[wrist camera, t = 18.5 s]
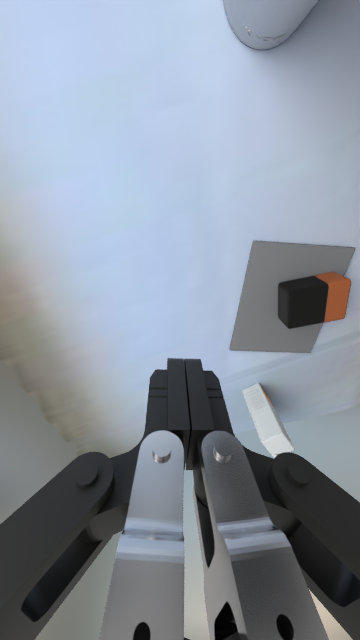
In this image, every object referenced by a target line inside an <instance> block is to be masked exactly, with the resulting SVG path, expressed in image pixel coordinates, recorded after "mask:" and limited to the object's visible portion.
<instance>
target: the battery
mask: <svg viewBox="0 0 360 640" xmlns="http://www.w3.org/2000/svg"><path fill="white" fill-rule="evenodd" d="M350 286H351V280H350V279H348V278H346V277H344V276H342V275H340V274H337V273H335V272H329V273H324V274H320V275H315V276H310V277H305V278H300V279H295V280H290V281H285V282H281V283H279V284H278V318H279V319H280V320H281V321H282V322H283V323H284V325H285V326H286V327H287V328H288V329H292V328H298V327H303V326H308V325H314V324H319V323H324V322H329V321H335V320H340V319H344V318H345V314H346V309H347V307H348V306H349V305H348V297H349V292H350Z"/></svg>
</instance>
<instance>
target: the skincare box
mask: <svg viewBox="0 0 360 640" xmlns="http://www.w3.org/2000/svg"><path fill="white" fill-rule="evenodd" d="M242 393H243V396H244V398H245V401H246V403H247V406H248V409H249V411H250V414H251V417H252V419H253V422H254V425H255V427H256V430H257V432H258V435H259V438H260V440H261V443H262V444H263V445H264V446H265V447H266V449H267V450H268V451H269V452H270V453H271V455H272V456H273V457H274V458H275V457H276V456H277V455H278V454H280V453H284V452H290V451H293V450H294V449H295V448H294V447H293V445H292V443H291V440H290V438H289V436H288V435H287V433H286V431H285V429H284V426H283V424H282V422H281V420H280V418H279V416H278V414H277V413H276V411H275V409H274V406H273V404H272V402H271V400H270V398H269V397H268V396H267V394H266V393H265V392H264V390H263V389H262V387H261V386H260V384H259V383H257V384H255V385H253V386H251V387H248V388H246V389H244V390H242Z"/></svg>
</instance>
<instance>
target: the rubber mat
mask: <svg viewBox="0 0 360 640" xmlns="http://www.w3.org/2000/svg"><path fill="white" fill-rule="evenodd" d="M354 251H355V248H353V247H338V246H324V245H309V244H294V243H279V242H264V241H253V243H252V248H251V252H250V257H249V262H248V266H247V271H246V275H245V280H244V285H243V289H242V294H241V298H240V303H239V308H238V312H237V317H236V322H235V326H234V331H233V335H232V340H231V345H230V350H234V351H266V352H299V353H310V352H311V350H312V348H313V345H314V343H315V341H316V338H317V336H318V334H319V331H320V329H321V327H322V324H323V323H319V324H314V325H308V326H303V327H298V328H292V329H288V328H287V327H286V326H285V325H284V323H283V322H282V321H281V320H280V319H279V318H278V284H279V283H281V282H285V281H290V280H295V279H300V278H305V277H310V276H315V275H320V274H324V273H329V272H335V273H337V274H340V275H342V276H344V274H345V271H346V269H347V267H348V264H349V262H350V260H351V257H352V255H353V253H354Z"/></svg>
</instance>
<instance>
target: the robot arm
mask: <svg viewBox="0 0 360 640" xmlns="http://www.w3.org/2000/svg"><path fill="white" fill-rule="evenodd" d="M318 1H319V0H223V2H224V8H225V12H226V16H227V19H228V22H229V24H230V26H231V28H232V30H233V31H234V33H235V35H236V36H237V37H238V38H239V39H240V40H241V42H243V43H244V44H246V45H247V46H249V47H251V48H255V49H258V50H260V49H270V48H273V47H276V46H277V45H279V44H281V43H282V42H284V41H285V40H286V39H287V38H288V37H289V36H290V35H291V34H292V33H293V32H294V31H295V30H296V29H297V27H298V26H299V25H300V23H301V22H302V21H303V19H304V18H305V17H306V16H307V14H308V13H309V12H310V10H311V9H312V8H313V7H314V6H315V4H316V3H317V2H318ZM185 463H186V470H193V475H194V487H193V498H194V505H195V513H196V519H197V526H198V533H199V540H200V546H201V554H202V561H203V568H204V593H205V604H206V611H207V618H208V626H209V633H210V640H329V639H328V636H327V634H326V631H325V629H324V626H323V624H322V621H321V619H320V616H319V614H318V611H317V609H316V606H315V604H314V602H313V599H312V596H311V594H310V591H311V592H312V593H313V594H314V595H315V596H316V597H317V598H318V600H319V601H320V602H321V603H322V604H323V605H324V607H325V608H326V609H327V610H328V611H329V612H330V613H331V615H332V616H333V617H334V618H335V619H336V620H337V622H338V623H339V624H340V625H341V626H342V627H343V628H344V630H345V631H346V632H347V633H348V634H349V635H350V637H351V638H352V639H353V640H360V503H359V502H358V501H357V500H356V499H354V498H353V497H352V496H351V495H349V494H348V493H347V492H346V491H344V490H343V489H342V488H341V487H339V486H338V485H337V484H336V483H334V482H333V481H332V480H331V479H329V478H328V477H327V476H326V475H324V474H323V473H322V472H320V471H319V470H318V469H317V468H316V467H314V466H313V465H312V464H311V463H309V462H308V461H307V460H305V459H304V458H303V457H301V456H299V455H297V454H294V453H289V452H284V453H280V454H278V455H277V456H276V457H275V459H273V458H270V457H266V456H264V455H261V454H258V453H255V452H252V451H250V450H249V449H247V448H245V447H244V446H243V445H242V444H241V443H240V441H239V440H238V439H237V438H236V437H235V435H234V433H233V430H232V427H231V423H230V419H229V416H228V412H227V408H226V405H225V401H224V399H223V394H222V391H221V386H220V382H219V379H218V378H217V377H216V375H215V374H214V373H213V372H212V371H203V368H202V363H201V360H200V359H175V358H168V361H167V370H155V371H154V373H153V374H152V376H151V377H150V384H149V394H148V404H147V415H146V425H145V432H144V436H143V438H142V440H141V441H140V443H139V444H138V445H137V446H136V447H135V448H133V449H132V450H130V451H129V452H126V453H124V454H121V455H118V456H115V457H112V458H108V457H107V456H106V455H105V454H103V453H100V452H89V453H85V454H83V455H81V456H79V457H77V458H76V459H75V460H74V461H72V462H71V463H70V464H69V465H68V466H66V467H65V468H64V469H63V470H62V471H61V472H60V473H58V474H57V475H56V476H55V477H54V478H53V479H52V480H51V481H49V482H48V483H47V484H46V485H45V486H44V487H43V488H41V489H40V490H39V491H38V492H37V493H36V494H34V495H33V496H32V497H31V498H30V499H29V500H28V501H27V502H25V503H24V504H23V505H22V506H21V507H20V508H19V509H17V510H16V511H15V512H14V513H13V514H12V515H11V516H9V517H8V518H7V519H6V520H5V521H4V522H3V523H1V524H0V640H34V639H35V638H36V637H37V635H38V634H39V633H40V632H41V630H42V629H43V628H44V626H45V625H46V624H47V622H48V621H49V619H50V618H51V617H52V616H53V614H54V613H55V612H56V610H57V609H58V608H59V606H60V605H61V604H62V602H63V601H64V599H65V598H66V597H67V596H68V594H69V593H70V592H71V590H72V589H73V588H74V586H75V585H76V584H77V582H78V581H79V580H80V579H81V577H82V576H83V575H84V573H85V572H86V570H87V569H88V568H89V567H90V565H91V564H92V562H93V561H94V560H95V559H96V557H97V556H98V554H99V553H100V552H101V551H102V549H103V548H104V547H105V545H106V543H108V541H109V540H110V539H111V537H112V536H113V535H114V534H116V533H118V532H120V531H122V530H123V532H122V534H121V536H120V540H119V543H118V548H117V552H116V557H115V562H114V567H113V572H112V577H111V582H110V587H109V592H108V597H107V602H106V607H105V612H104V617H103V622H102V627H101V632H100V637H99V640H189V639H187V638H184V536H183V484H184V483H183V482H184V469H185ZM308 588H309V589H310V591H309V589H308Z"/></svg>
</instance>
